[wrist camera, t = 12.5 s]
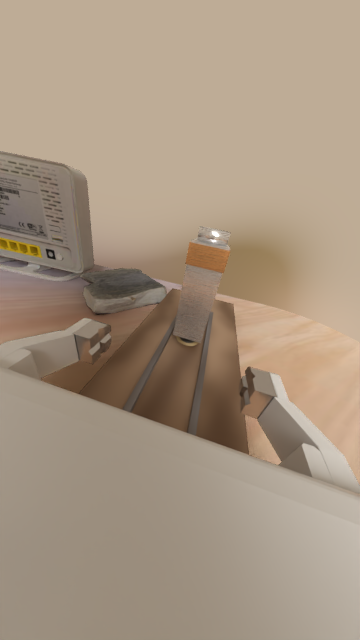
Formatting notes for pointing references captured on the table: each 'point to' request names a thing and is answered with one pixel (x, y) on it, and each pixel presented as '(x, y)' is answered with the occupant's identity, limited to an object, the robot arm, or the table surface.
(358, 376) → the table surface
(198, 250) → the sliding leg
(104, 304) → the fossil
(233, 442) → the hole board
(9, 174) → the network device
